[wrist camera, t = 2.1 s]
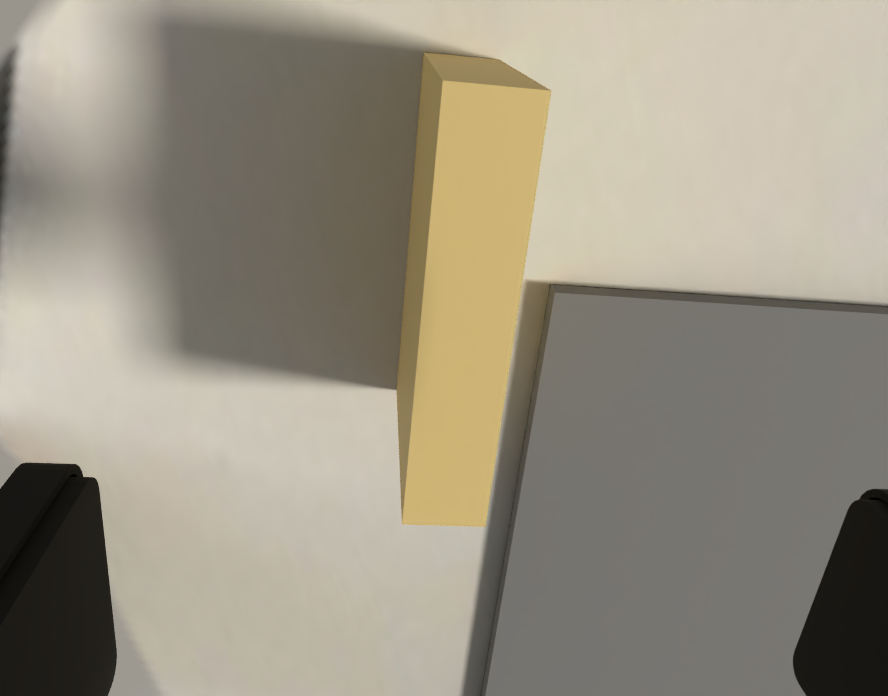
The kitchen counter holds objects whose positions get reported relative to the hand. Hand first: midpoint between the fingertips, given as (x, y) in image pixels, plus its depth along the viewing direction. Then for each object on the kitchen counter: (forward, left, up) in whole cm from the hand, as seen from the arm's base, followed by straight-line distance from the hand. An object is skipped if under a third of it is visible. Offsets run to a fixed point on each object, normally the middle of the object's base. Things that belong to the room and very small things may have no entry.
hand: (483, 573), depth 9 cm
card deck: (-1, 0, -12) cm, 12 cm away
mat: (+10, +11, -12) cm, 19 cm away
